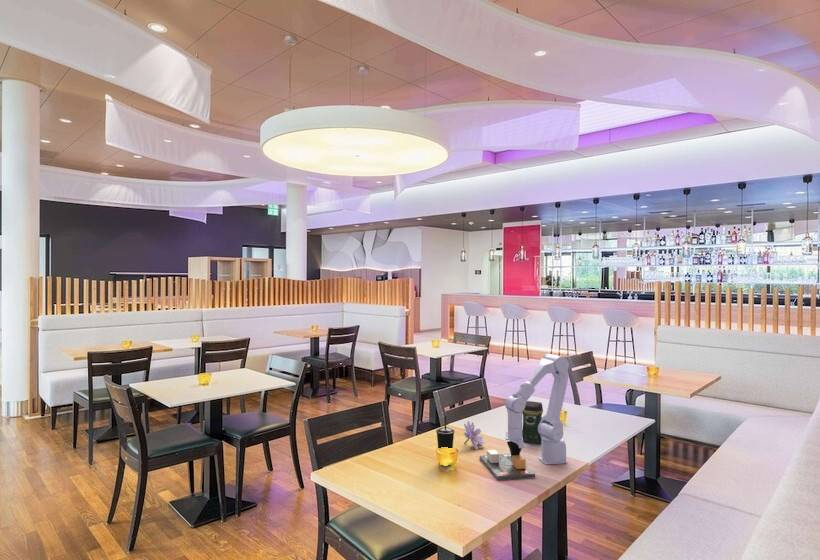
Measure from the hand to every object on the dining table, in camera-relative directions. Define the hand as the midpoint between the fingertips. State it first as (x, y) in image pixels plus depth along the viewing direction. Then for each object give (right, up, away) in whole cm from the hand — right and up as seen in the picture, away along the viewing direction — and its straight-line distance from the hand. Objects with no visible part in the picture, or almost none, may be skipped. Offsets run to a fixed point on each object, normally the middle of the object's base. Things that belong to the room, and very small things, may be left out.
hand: (515, 460), depth 193 cm
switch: (-9, -1, +2) cm, 9 cm away
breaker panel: (-4, -3, -1) cm, 5 cm away
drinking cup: (-28, -3, +3) cm, 28 cm away
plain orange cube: (+1, -1, -4) cm, 4 cm away
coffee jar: (+15, -3, +32) cm, 35 cm away
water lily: (-13, -3, +25) cm, 29 cm away
